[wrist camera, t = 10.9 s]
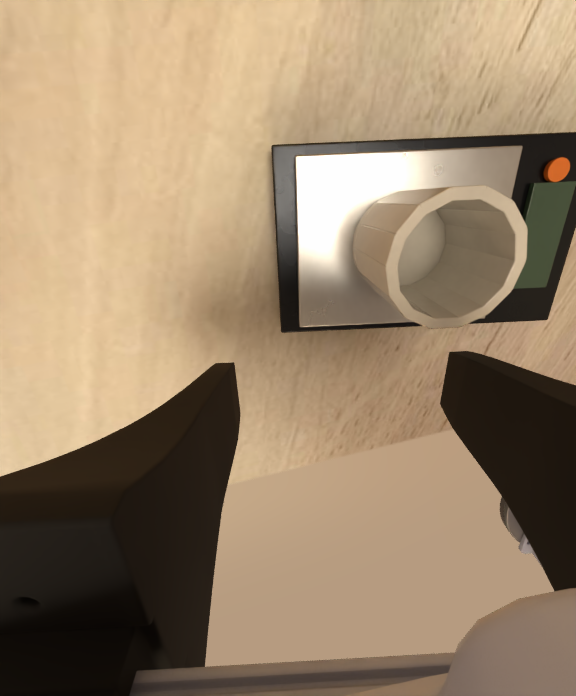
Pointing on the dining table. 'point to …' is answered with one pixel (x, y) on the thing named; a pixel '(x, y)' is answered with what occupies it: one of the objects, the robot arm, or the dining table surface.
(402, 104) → the dining table surface
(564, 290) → the dining table surface
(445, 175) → the scale
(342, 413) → the dining table surface
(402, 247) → the pot
